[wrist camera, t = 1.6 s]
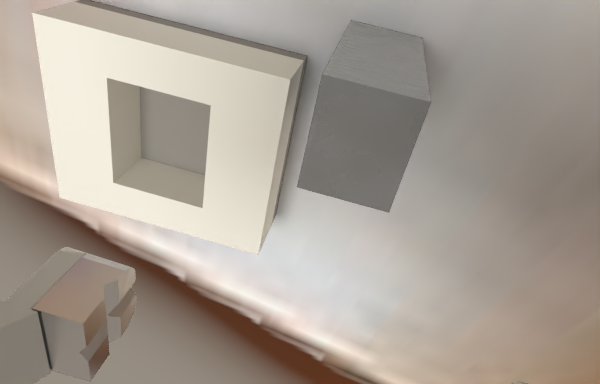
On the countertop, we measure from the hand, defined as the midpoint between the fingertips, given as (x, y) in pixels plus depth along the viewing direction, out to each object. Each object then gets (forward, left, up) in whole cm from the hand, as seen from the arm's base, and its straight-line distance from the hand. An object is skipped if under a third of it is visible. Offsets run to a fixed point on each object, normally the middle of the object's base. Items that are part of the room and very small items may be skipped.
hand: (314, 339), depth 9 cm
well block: (+11, +6, -19) cm, 23 cm away
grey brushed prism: (0, 0, -19) cm, 19 cm away
